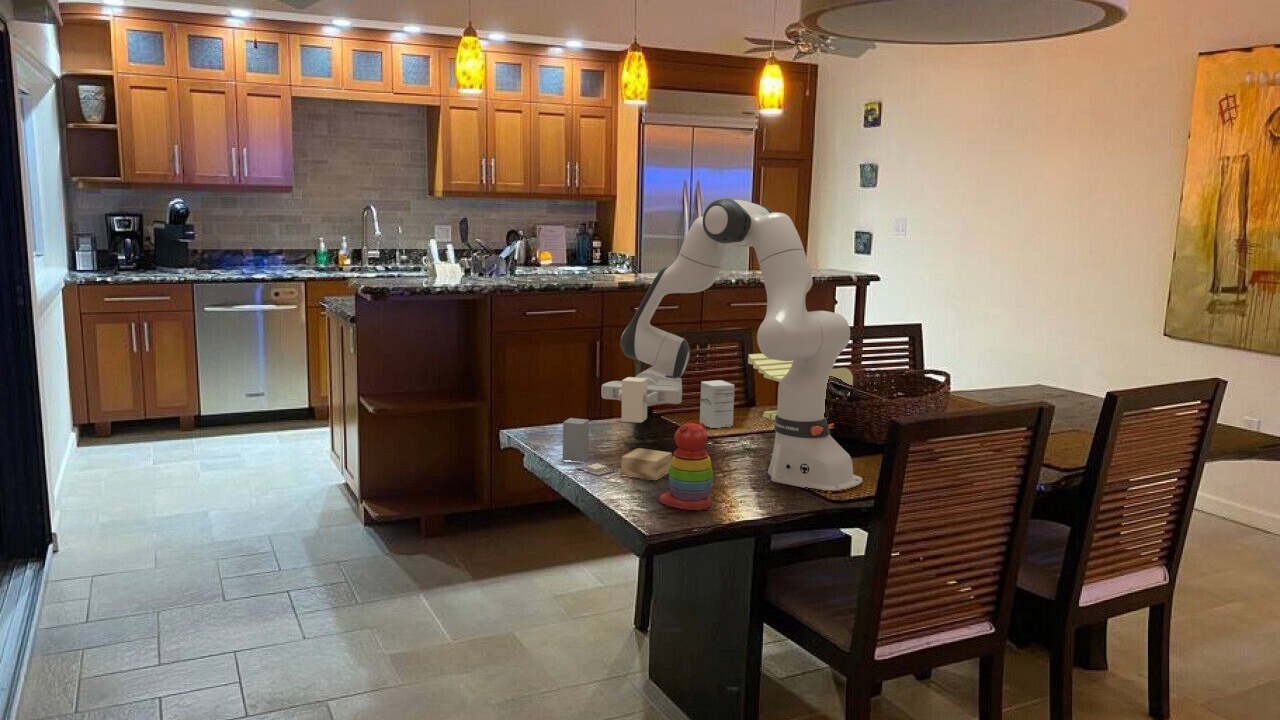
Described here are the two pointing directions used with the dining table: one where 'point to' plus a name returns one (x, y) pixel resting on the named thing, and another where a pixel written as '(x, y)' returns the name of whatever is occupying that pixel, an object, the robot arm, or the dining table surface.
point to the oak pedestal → (646, 463)
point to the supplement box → (717, 404)
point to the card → (599, 467)
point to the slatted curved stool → (781, 368)
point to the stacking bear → (689, 470)
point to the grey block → (575, 439)
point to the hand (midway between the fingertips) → (633, 398)
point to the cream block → (634, 399)
